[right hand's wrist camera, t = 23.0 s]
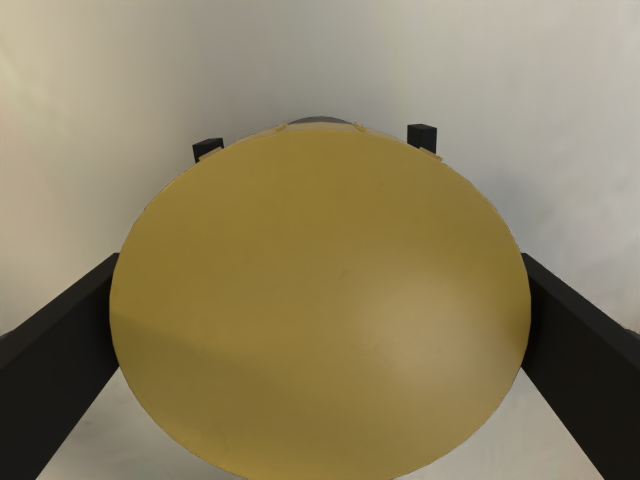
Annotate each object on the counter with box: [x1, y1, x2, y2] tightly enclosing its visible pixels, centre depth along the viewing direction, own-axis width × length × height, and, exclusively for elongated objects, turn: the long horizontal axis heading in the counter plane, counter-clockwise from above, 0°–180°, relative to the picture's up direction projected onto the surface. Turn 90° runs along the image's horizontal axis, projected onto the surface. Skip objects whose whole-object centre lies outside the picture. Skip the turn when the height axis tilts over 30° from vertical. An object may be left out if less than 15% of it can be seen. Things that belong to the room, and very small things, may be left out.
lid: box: [109, 122, 531, 480], centre depth 11 cm, size 11×11×2 cm
